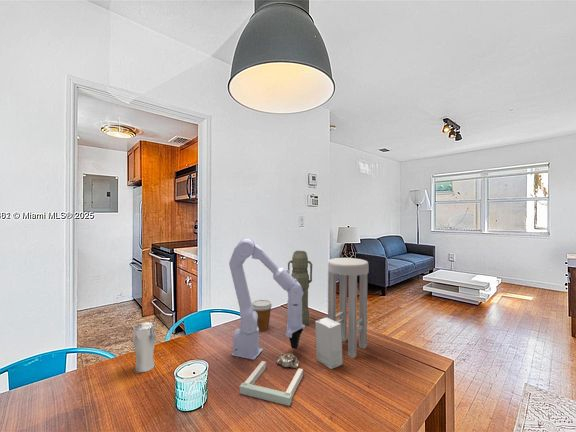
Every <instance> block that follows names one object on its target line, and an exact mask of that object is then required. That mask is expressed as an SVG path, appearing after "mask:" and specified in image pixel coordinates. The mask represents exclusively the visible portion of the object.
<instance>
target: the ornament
mask: <svg viewBox="0 0 576 432" xmlns="http://www.w3.org/2000/svg"><path fill="white" fill-rule="evenodd" d="M299 363H300V361H299V360H298V358H297V356H296V355H294V353H292V352H290V353H282V352H281V353H280V355H278V359H277V361H276V364H278V365H279V366H280V365H281V366H282V367H285V368H289V367H290V368H291V369H298V367H299Z"/></svg>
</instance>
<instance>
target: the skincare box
mask: <svg viewBox="0 0 576 432" xmlns="http://www.w3.org/2000/svg"><path fill="white" fill-rule="evenodd" d="M314 322H315V343H316V344H315V345H316V346H315V348H316V360H317V361H318V362H319V363H321V364H323V365H324V366H325V367H327V368H328V369H330V370H332V369H334V368H338V367H341V366H342V365H343V362H344V361H343V343H342V342H343V341H342V336H341V324H340V323H338V322H337V320H336V321H333V320H331V319H329V318H328V316H326V317H323V318H320V319H318V320H315V321H314Z"/></svg>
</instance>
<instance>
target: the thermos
mask: <svg viewBox="0 0 576 432" xmlns="http://www.w3.org/2000/svg"><path fill="white" fill-rule="evenodd" d="M290 264H291V266H292V267H290ZM309 267H310V268H309ZM290 268H292V270H290ZM308 268H309V270H308ZM287 269H288V270H289V274H290V275H291V276H292V277H293V278H294V279H296V280H297V281H298V282H299V284H300V285H301V287H302V290H303V296H302V324H303V325H305V327H306V326H308V325H309V323H310V321H309V319H310V311H309V288H310V284H311V282H313V263H312V261H310V260H309V259H308V253H307V251H304V250H295V251H293V254H292V259H291V260H289V261H288V262H287ZM290 271H291V272H292V273H290ZM308 271H309V272H308ZM309 273H310V274H309Z"/></svg>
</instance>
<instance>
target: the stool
mask: <svg viewBox="0 0 576 432" xmlns="http://www.w3.org/2000/svg"><path fill="white" fill-rule="evenodd" d="M369 268H370V267H369V262H368V260H365V259H362V258H355V257H354V258H353V257H336V258H335V257H334V258H331V259H328V263H327V318H329V319H331V320H333V321H336V322H338V323H340V324H341V336H342V342H344V343H345V342H346V341H347V345H348V347H347V356H348V357H349V358H351V359H355V358H356V357H357V333H359V334H358V348H361V349H364V350H365V349H366V348H367V347H368V346H367V345H368V342H367V341H368V274H369V270H370V269H369ZM337 275H339V312H338V313H336V311H337ZM358 276H359V299H357V298H358ZM358 301H359V306H358ZM357 306H358V307H359V309H358V307H357ZM357 309H358V310H359V311H357ZM358 312H359V313H358ZM357 313H358V314H357ZM358 315H359V318H357V317H358ZM337 319H338V320H337ZM357 325H358V326H357ZM347 326H348V327H347ZM347 329H348V331H347Z"/></svg>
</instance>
